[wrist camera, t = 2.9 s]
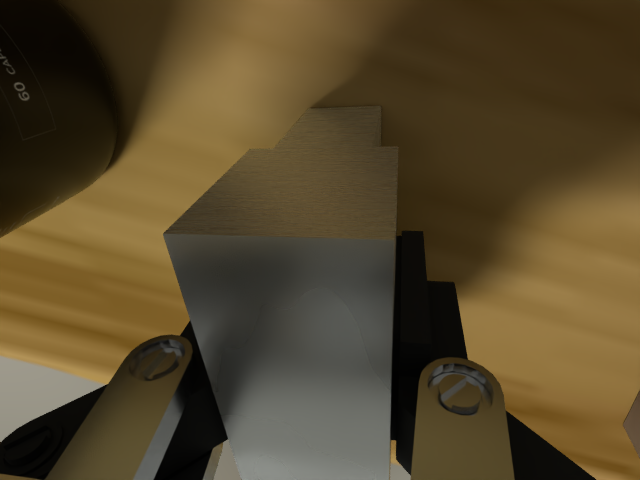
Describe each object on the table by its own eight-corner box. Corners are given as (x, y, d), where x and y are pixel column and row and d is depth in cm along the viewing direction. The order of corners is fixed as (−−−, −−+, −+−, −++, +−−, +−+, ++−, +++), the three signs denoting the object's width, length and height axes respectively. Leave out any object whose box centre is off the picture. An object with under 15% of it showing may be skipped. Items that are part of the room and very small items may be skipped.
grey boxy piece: (291, 109, 11) (162, 233, 5) (400, 105, 11) (394, 240, 5) (314, 324, 15) (257, 530, 9) (394, 329, 15) (387, 553, 9)
